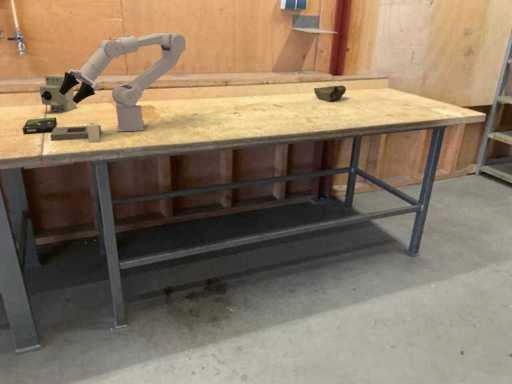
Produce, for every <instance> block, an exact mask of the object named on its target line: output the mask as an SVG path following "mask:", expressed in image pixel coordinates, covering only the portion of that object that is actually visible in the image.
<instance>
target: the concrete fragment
mask: <svg viewBox="0 0 512 384" xmlns="http://www.w3.org/2000/svg"><path fill="white" fill-rule="evenodd" d="M313 90H314V94H315V96H316V97H317V99H320V100H322V101H325V102H328V103H332V102H337V101H339V100H340V99H341V98H342V97H343V96H344V94H345V93H346V90H347V88H346V86H345V85H332V86H330V85H329V86H325V87H324V86H322V87H314V88H313Z"/></svg>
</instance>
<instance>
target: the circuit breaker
mask: <svg viewBox="0 0 512 384" xmlns="http://www.w3.org/2000/svg"><path fill="white" fill-rule="evenodd" d="M64 76H65V73H64V74H62V73H54V74H49V75H45V76H44V79H45V85H41V86H39V87H38V89H39V94H40V98H41V99H40V100H41V104H42V105H46V106H50V107H49V109H50V112H62V113H68V112H71V111H73V110H76V109H78V107H77V104H78V103H77V104H76V103H75V102H74V101H73V100H72V99H73V97H74V96H75V94H74V87H73V88H71V89H70V90H69V91H68V92H67V93H66V94H65V95H62V94H61V93H60V92H59V90H60V88H61V86H62V83H63V80H64Z"/></svg>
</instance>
